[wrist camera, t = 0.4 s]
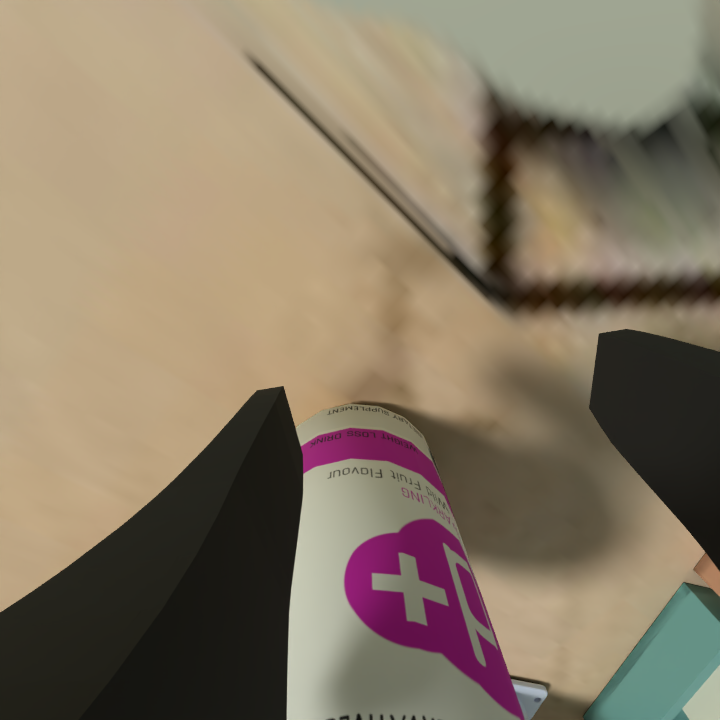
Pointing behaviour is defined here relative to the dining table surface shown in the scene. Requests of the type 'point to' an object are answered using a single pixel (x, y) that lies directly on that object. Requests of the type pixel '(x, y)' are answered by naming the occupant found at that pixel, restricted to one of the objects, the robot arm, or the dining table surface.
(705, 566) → the bin
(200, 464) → the robot arm
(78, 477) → the dining table surface
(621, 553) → the dining table surface
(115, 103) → the dining table surface
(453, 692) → the supplement can
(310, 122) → the dining table surface
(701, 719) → the cube
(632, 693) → the bin
